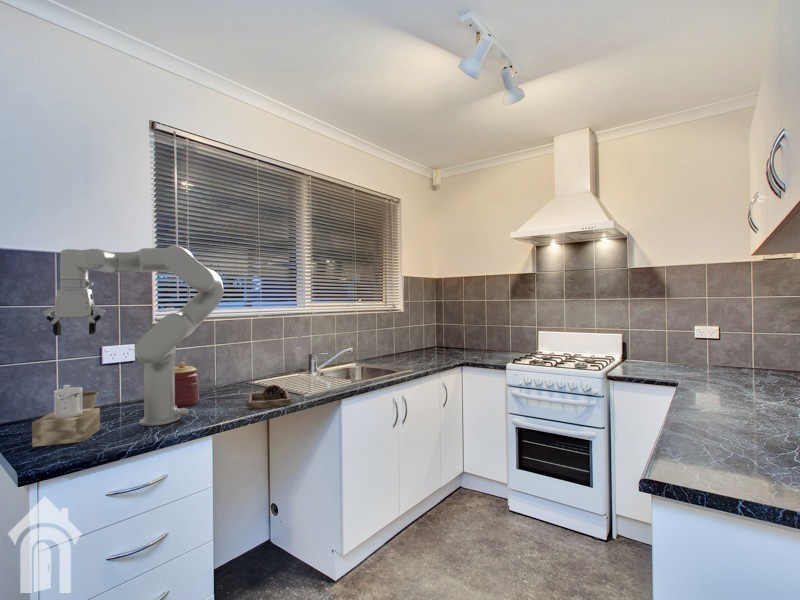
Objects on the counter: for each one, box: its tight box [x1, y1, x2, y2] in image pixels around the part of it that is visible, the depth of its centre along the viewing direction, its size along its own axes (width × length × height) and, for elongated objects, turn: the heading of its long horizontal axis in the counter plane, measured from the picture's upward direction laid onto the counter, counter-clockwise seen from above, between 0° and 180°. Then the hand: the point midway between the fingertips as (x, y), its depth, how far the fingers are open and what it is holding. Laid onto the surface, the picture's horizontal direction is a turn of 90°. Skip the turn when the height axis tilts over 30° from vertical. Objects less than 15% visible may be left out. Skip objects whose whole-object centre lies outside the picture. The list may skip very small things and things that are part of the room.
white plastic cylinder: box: [53, 384, 83, 419], centre depth 129 cm, size 7×7×15 cm
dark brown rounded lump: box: [262, 384, 286, 401], centre depth 172 cm, size 12×10×8 cm
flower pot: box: [66, 391, 99, 409], centre depth 152 cm, size 9×9×9 cm
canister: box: [175, 361, 200, 408], centre depth 171 cm, size 13×13×18 cm
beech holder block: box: [31, 407, 101, 448], centre depth 129 cm, size 13×13×7 cm
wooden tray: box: [248, 389, 291, 410], centre depth 171 cm, size 16×18×2 cm
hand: (75, 334), depth 139 cm, fingers open, 9 cm apart
